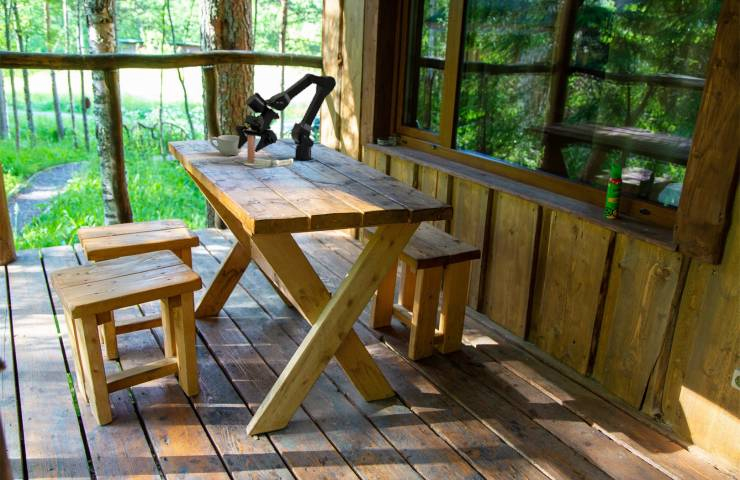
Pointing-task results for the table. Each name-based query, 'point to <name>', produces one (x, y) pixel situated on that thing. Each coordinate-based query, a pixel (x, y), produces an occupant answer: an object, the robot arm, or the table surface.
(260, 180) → the table surface
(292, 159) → the cream dumbbell
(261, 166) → the board
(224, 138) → the teacup
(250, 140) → the brown cylinder with stick
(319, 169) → the table surface
